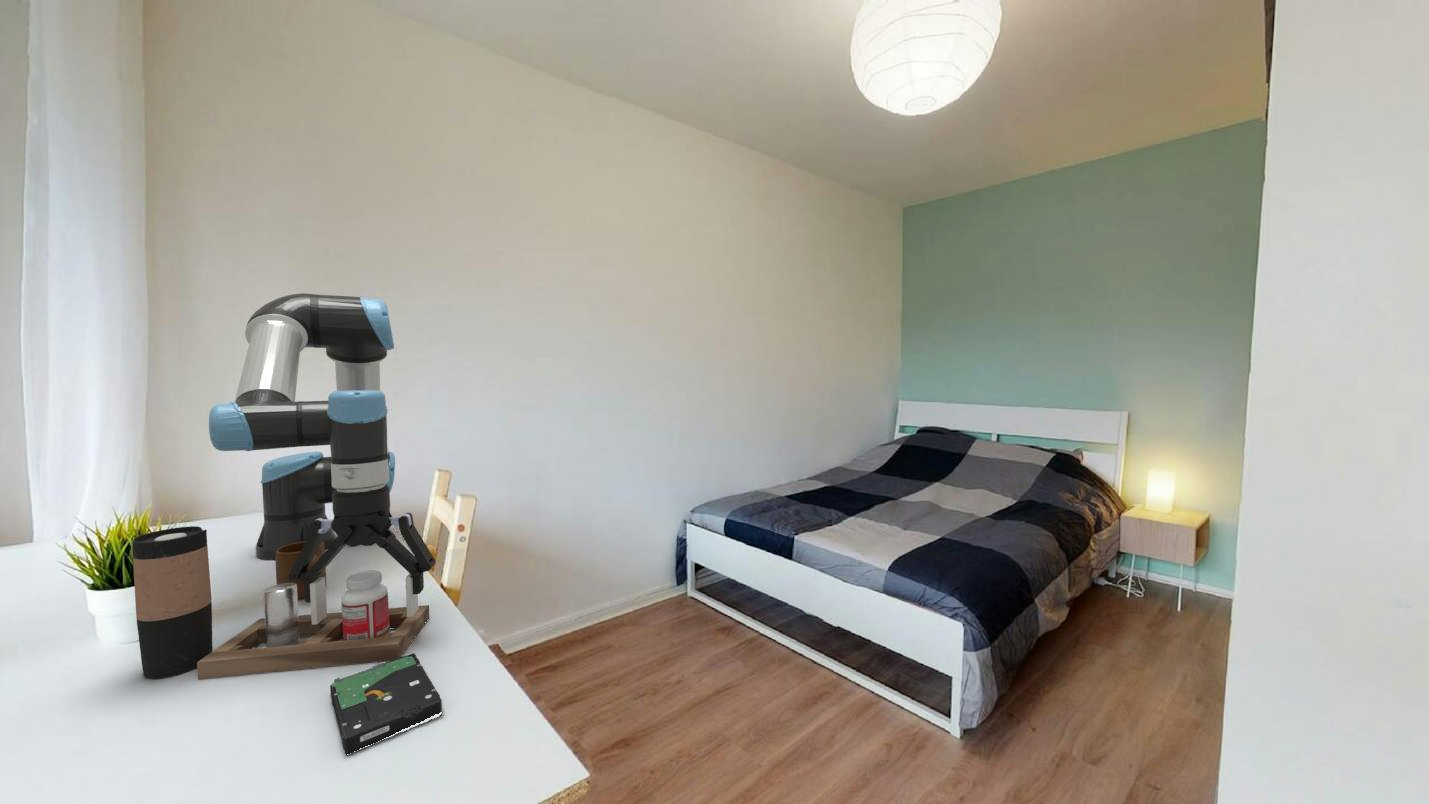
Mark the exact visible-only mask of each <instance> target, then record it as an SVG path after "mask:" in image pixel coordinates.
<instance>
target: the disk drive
mask: <svg viewBox="0 0 1429 804" xmlns="http://www.w3.org/2000/svg"><path fill="white" fill-rule="evenodd" d="M329 691H330V698H331V699H330V700H331V704H332V708H333V711H334V714H335V719H336V722H337V727H338V731H339V735H340V738H341V744H342V745H343V746H342V748H343V751H344V750H345V752H344V755H345V754H346V755H345V756H348V755H347V754H350V753H352V754H354V753H355V752H354V751H357V750H359V749H360V748H363V747H365V746H368V745H371V744H373V743H376V742H378V741H380V740H382V739H384V738H386V737H389V736H391V735H393V734H395V733H396V732H399V731H401V730H402V729H405V728H408V727H410V726H411V725H415V724H416V723H420V722H421V721H424V720H425V719H427V718H430V717H431V716H434V715H435V714H439V713H440V712H442V713H443V699H442V698H441V696H440V693H439V692H438V691H437V689H436V687H435V686H434V684H433V682H432V681H431V679H430V677H429V675H428V674H427V672H426V670H425V669H424V667H423V665H422V663H421V661H420V660H419V658H418V657H417V655H416V654H415V653H410V654H405V655H403V656H401V657H400V658H397V659H394V660H391V661H385V662H382V663H379V664H375V665H373V666H372V667H371V668H369V669H366V670H362V671H358V672H356V673H354V674H351V675H347V676H346V677H345V676H344V677H342V678H341V677H338V678H335V679H334V680H333V682H331V684H330V685H329ZM378 743H379V742H378ZM376 744H377V743H376ZM371 746H372V745H371ZM359 751H360V750H359ZM353 752H354V753H353ZM357 752H358V751H357ZM350 755H351V754H350Z"/></svg>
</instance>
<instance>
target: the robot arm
mask: <svg viewBox="0 0 1429 804" xmlns="http://www.w3.org/2000/svg"><path fill="white" fill-rule="evenodd" d="M248 319H249V320H248V321H247V324H246V326H245V331H244V337H245V339H246V341H247V343H248V347H247V350H246V356H245V360H244V363H243V367H242V371H241V375H240V379H239V383H238V386H237V391H236V394H235V398H234V401H230V402H228V403H218V404H215V405H213V406H212V407H211V408H210V410H209V416H208V430H209V431H208V433H209V438H210V441H211V445H212V447H214V448H215V449H216V450H217V451H221V452H229V451H230V452H233V451H234V452H235V451H236V452H238V451H240V452H241V451H246V452H253V451H260V450H262V451H264V450H274V449H285V448H286V449H287V448H288V449H289V448H296V447H299V448H301V447H302V448H303V447H317V446H330V456H324V454H323V452H322V451H309V452H302V453H301V452H300V453H295V454H290V455H284V456H280V457H277V458H274V459H271V460H268V461H266V462H265V463H264V464H263V465H262V467H261V480H260V484H261V487H262V502H263V503H262V504H263V506H262V507H263V526H262V528H261V530H260V533H259V537H258V539H257V542H256V545H255V555H256V558H258V559H262V560H275V559H276V550H277V549H279V548H280V547H283V546H286V545H289V544H293V543H297V542H304V541H306V542H305V544H304V546H303V548H302V550H301V552H300V554H299V556H298V558H297V560H296V562H295V564H294V566H293V568H292V570H291V572H290V574H289V576H288V578H289V579H290V580H292V581H293V580H299V581H302V582H303V584H304V597H305V598H304V601H305V603H310V614H311V619H312V625H315V624H318V623H319V622H321V621H322V620H323V619H324V618H325V617H326V616H327V613H328V612H327V610H328V609H327V608H328V607H327V590H326V589H327V588H326V587H325V577H320V578H318V576H319V575H321V573H322V571H323V570H324V569H325V568H326V569H327V567H328V566H329V564H331V562H332V561H333V560H334V559H335V558H336V557H337V555H339V553H340V552H341V551H342V550H343V549H344V547H345V546H349V548H352V547H353V548H354V547H358V546H365V547H370V546H371V547H372V546H374V545H377V546H378V547H379V548H380V549H383V550H385V551H386V552H387V553H388V555H389V556H391V558H393V559H394V560H395V561H396V562H397V563H398V564H399V565H400V566H401V567H402V568H404V570H406V571H407V572H408V574H407V575H406V576H405V597H406V598H405V601H406V607H407V617H412V616H413V615H414V614H415V612H416V611H417V610H418V609H419V608H418V606H419V595H420V594H421V593H422V591H423V590H424V588H425V584H424V583H425V581H424V573H425V572H429V571H430V570H431V569H432V568H433V567H434V566H435V565H436V563H437V561H436V559H435V557H434V555H433V554H432V553H431V551H430V549H429V548H428V546H427V545H426V543H425V540H424V539H423V538H422V536H421V535H420V532H419V531H418V530H417V528H416V527H415V524H414V523H415V522H414V517H413V514H412V513H411V512H406V513H405V514H402V515H398V516H397V515H396V516H393V515H392V514H391V495H390V493H391V492H392V489H393V486H394V482H395V481H394V480H395V469H396V457H395V456H396V455H395V453H394V452H391V451H389V447H388V419H387V418H388V416H387V415H388V409H387V408H388V406H387V404H386V401H387V400H386V395H385V393H384V392H383V391H381V369H380V367H381V364H380V363H381V362H383V361H384V360H385V359H386V358H387V356H388V351H391V350H394V349H395V343H394V337H393V332H392V326H391V322H390V321H391V320H390V315H389V310H388V306H387V304H386V302H385V301H384V300H382V299H378V298H370V297H364V296H350V295H349V296H348V295H331V294H313V293H307V292H305V293H304V292H303V293H293V294H288V295H284V296H281V297H278V298H275V299H274V300H271V301H270V302H267V303H265V304H263V305H262V306H261V307H259V308H258V309H257V310H255V312H254V313H253V314H252V315H251V316H250V317H249V318H248ZM305 348H314V349H315V348H316V349H319V348H320V349H325V353H326V354H325V355H326V357H327V358H329V359H330V360H332V362H334V366H335V383H336V384H335V385H336V390H335V391H332V392H331V393H330V394H329V395H328V398H327V400H316V401H315V400H313V401H312V400H310V401H309V400H308V401H306V400H305V401H303V400H301V401H299V400H298V401H296V395H297V393H296V392H297V386H298V385H297V384H298V377H299V376H298V374H299V366H300V358H301V357H300V356H301V352H302V351H303V350H304V349H305ZM326 504H332V513H333V519H329V518H328V516H327V514H326ZM392 526H395V528H396V530H399V533H400V535H401V536H402V538H403V539H404V541H405V542H406V545H407V546H408V548H409V549H408V548H407V547H406V546H405V545H403V544H402V543H401V542H400V541H399V540H398V538H397V537H396V535H395V534H394V533H393V531H391V530H390V528H391V527H392ZM336 535H337V537H336ZM321 542H323V543H324V548H325V553H324V554H323V555H322V556H321V557H320V558H319V560H318V561H317V562H316V563H315V564H314V565H313V566H312V568H311V569H310V570H307V569H308V567H309V565H310V564H311V562H312V560H313V558H314V556H315V554H316V552H317V550H318V548H319V546H320V544H321Z"/></svg>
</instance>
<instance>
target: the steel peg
mask: <svg viewBox="0 0 1429 804" xmlns="http://www.w3.org/2000/svg"><path fill="white" fill-rule="evenodd" d="M262 595H263V611H264V615H263V616H264V618H265V633H266V644H265V648H266V647H278V646H289V645H296V644H297V643H298V642H299V641H301V637H300V636H299V617H298V615H299V603H298V602H299V601H298V600H299V599H298V598H297V584H296V583H282V584H278V585H277V584H274V585H271V586H269V587H267V588H265V589H264V590H262Z"/></svg>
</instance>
